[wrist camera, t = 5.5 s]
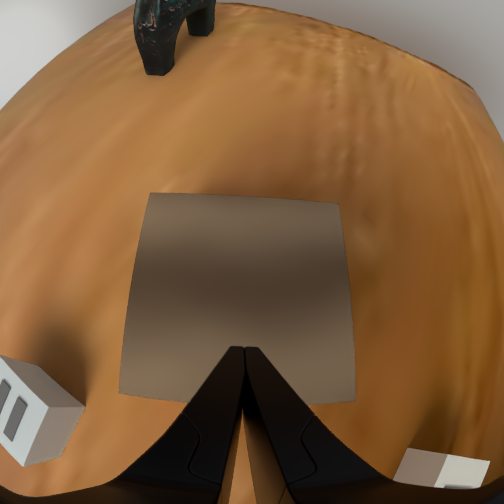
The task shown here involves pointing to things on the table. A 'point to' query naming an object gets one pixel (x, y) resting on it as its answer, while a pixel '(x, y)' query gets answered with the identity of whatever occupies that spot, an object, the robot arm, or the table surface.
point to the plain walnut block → (239, 295)
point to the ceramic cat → (168, 28)
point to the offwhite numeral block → (440, 470)
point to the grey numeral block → (34, 413)
